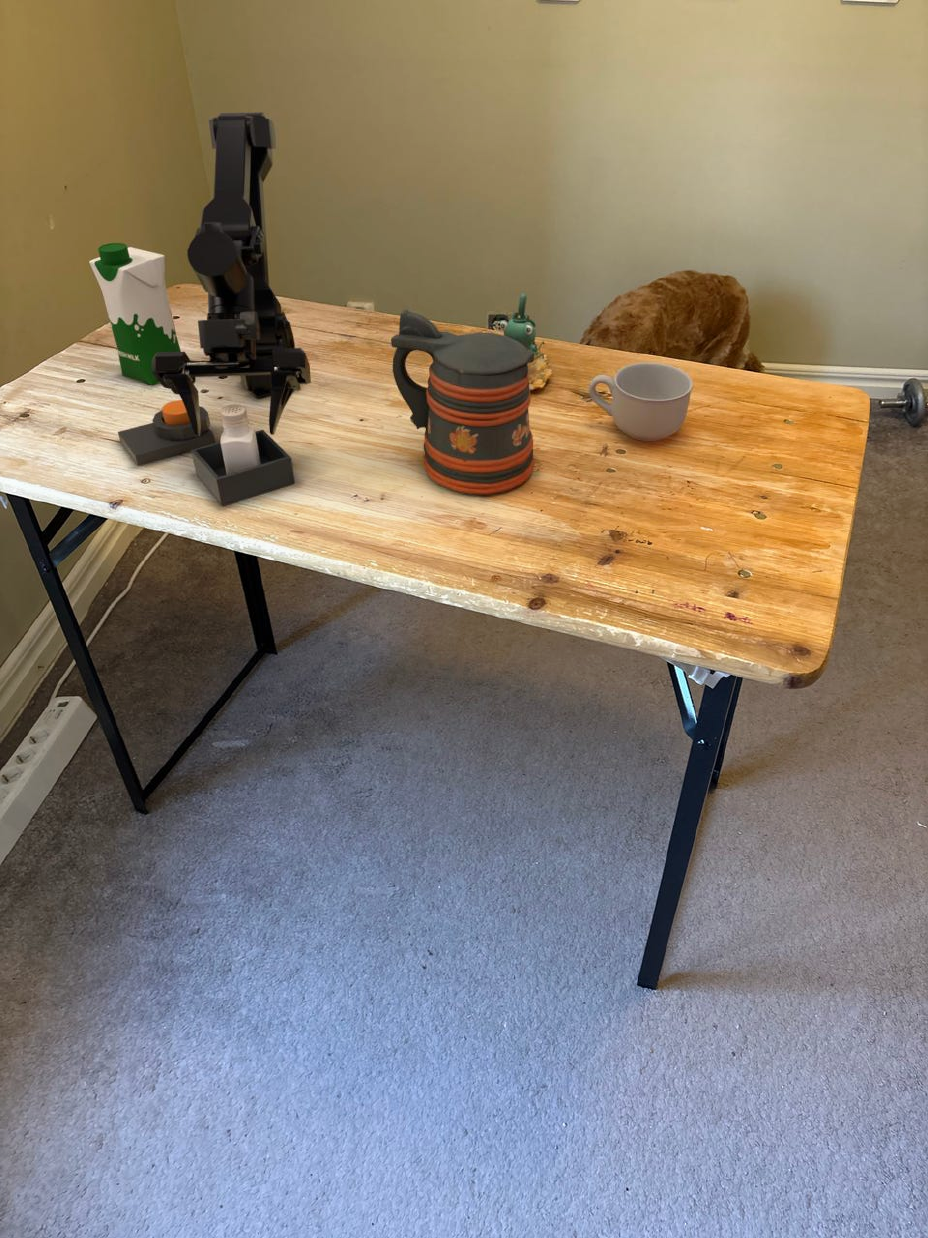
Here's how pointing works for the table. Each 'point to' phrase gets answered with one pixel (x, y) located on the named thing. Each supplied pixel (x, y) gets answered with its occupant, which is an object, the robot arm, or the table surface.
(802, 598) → the table surface
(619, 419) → the teacup
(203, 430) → the button base
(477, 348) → the beer stein
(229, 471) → the pepper shaker
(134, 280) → the milk carton
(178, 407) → the button
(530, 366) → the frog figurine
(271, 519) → the table surface
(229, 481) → the dark grey open box
